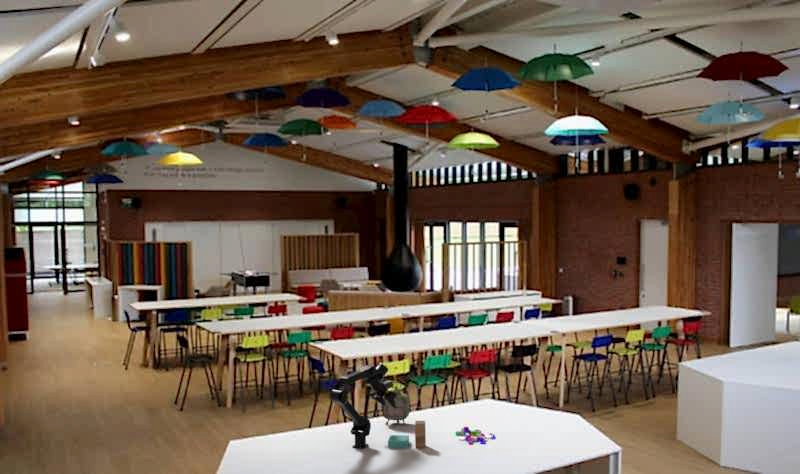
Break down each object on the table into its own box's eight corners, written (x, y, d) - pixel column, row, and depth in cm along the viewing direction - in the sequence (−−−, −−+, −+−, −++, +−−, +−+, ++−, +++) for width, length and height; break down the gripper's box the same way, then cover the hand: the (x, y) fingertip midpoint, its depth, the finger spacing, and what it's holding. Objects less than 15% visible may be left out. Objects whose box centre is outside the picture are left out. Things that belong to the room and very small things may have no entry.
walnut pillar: (425, 448, 351) (424, 423, 351) (415, 448, 351) (415, 423, 351) (425, 445, 356) (425, 420, 356) (416, 445, 356) (415, 420, 356)
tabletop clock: (382, 425, 394) (382, 382, 393) (387, 421, 402) (386, 379, 402) (406, 427, 389) (405, 383, 389) (411, 422, 398) (410, 380, 398)
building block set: (498, 444, 357) (498, 436, 357) (460, 445, 356) (460, 437, 356) (490, 430, 382) (489, 422, 382) (453, 431, 381) (453, 423, 381)
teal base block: (407, 449, 352) (407, 441, 352) (388, 448, 353) (388, 441, 353) (409, 442, 362) (408, 435, 362) (390, 442, 363) (390, 435, 363)
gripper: (396, 376, 362) (409, 398, 367) (376, 372, 377) (389, 394, 382) (382, 390, 356) (396, 413, 361) (362, 386, 371) (376, 407, 376)
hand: (389, 406), depth 370 cm, fingers open, 9 cm apart
